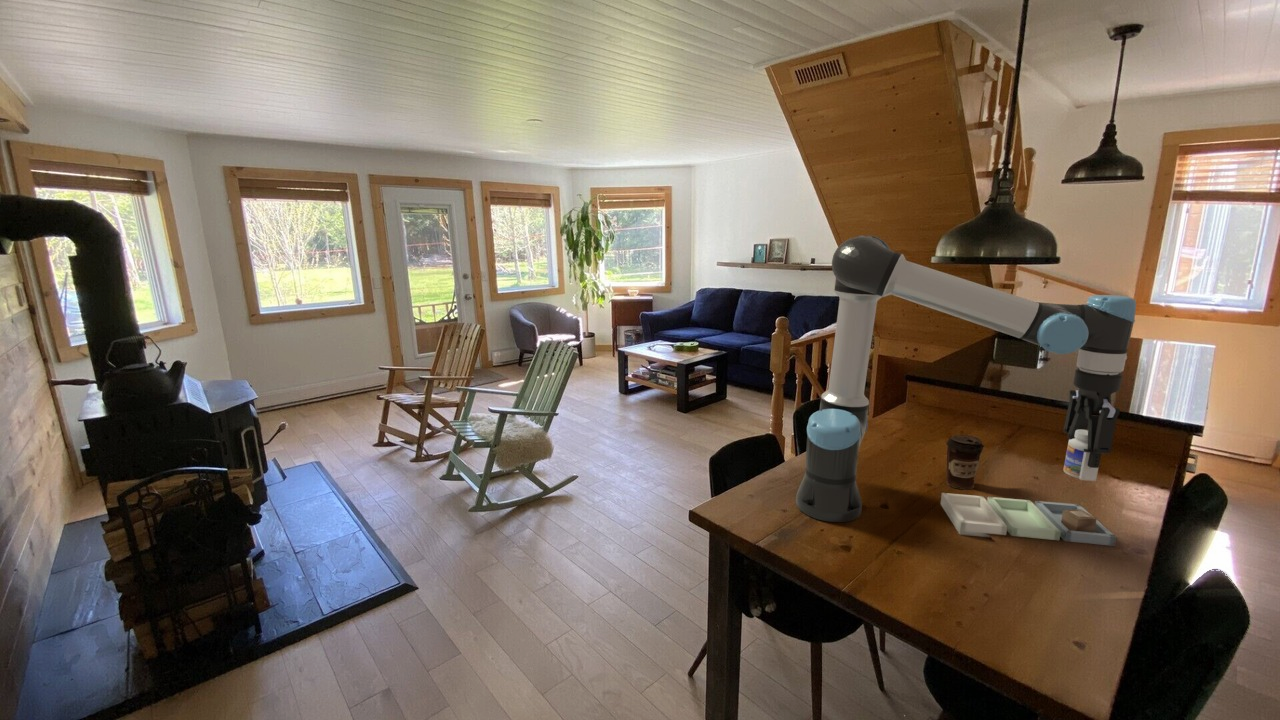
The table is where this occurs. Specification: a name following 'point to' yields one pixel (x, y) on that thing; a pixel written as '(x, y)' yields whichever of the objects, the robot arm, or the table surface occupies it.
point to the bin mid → (1024, 518)
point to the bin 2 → (1098, 537)
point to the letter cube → (1078, 520)
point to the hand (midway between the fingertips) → (1079, 473)
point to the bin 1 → (972, 515)
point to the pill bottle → (1076, 453)
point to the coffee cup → (962, 460)
